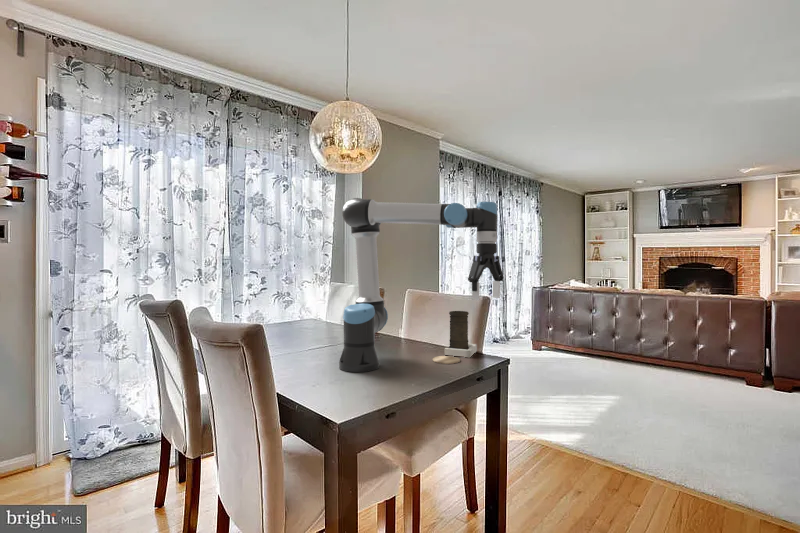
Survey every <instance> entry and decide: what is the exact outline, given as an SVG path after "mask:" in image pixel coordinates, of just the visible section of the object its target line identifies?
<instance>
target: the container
mask: <svg viewBox="0 0 800 533" xmlns="http://www.w3.org/2000/svg"><path fill="white" fill-rule="evenodd" d="M448 314H449V346H448V348H453V349H465V350H468V349H469V347H468V344H469V330H468V329H469V321H468V318H469V316H468V315H469V314H470V313H469V311H465V310H464V311H463V310H451V311H449V312H448Z"/></svg>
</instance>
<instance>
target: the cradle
mask: <svg viewBox="0 0 800 533" xmlns="http://www.w3.org/2000/svg"><path fill="white" fill-rule="evenodd" d="M468 347H469V349H468V350H465V349H453V348H449V347H445V348H444V356H445V355H453V357H454V356H464V357H463V358H465V357H471V356H472V355H473V354H474V353H475V354H476V353H477V351H478V343H468ZM475 354H474V355H475ZM472 357H473V356H472ZM472 357H471V358H472Z"/></svg>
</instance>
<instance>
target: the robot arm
mask: <svg viewBox="0 0 800 533" xmlns="http://www.w3.org/2000/svg"><path fill="white" fill-rule="evenodd" d="M341 214H342V218H343V220H344V222H345V223H346V224H347V226H349V227H350V229H351V230H350V231H351V236H352V237H353V238H354V239H355V252H356V253H355V254H356V269H357V285H358V298H357V299H356V300H355V303H354V304H350V305H347V306H346V307H345V308H344V310H343V316H342V318H343V348H342V351H341V354H340V358H339V360H338V361H339V362H338V368H339V369H340V371H341V370H342V371H344V372H349V373H350V372H351V373H364V372H371V371H375V370H377V369H379V368H380V360H379V355H378V353H377V350H376V346H375V338H376V337H375V336H376V335H375V333H378V332H379V331H381V330H382V329H383V328H384V327H385V326H386V324H387V322H388V317H389V314H388V311H387V308H386V307H385V300H384V298H383V297H382V296H381V292H380V291H381V290H380V275H379V261H378V260H379V259H378V245H377V244H378V242H377V237H378V236H379V235H380V234H381V233H380V232H381V231H380V230H381V229H380V226H381V224H404V225H405V224H409V225H410V224H411V225H440V226H442V225H443V226H445V227H446V228H448V229H449V228H450V229H463V228H465V229H467V228H472V229H473V228H474V229H475V228H476V243H477V244H476V253H477V254H478V255H473V258H472V265H471V268H470V270H469V274H468V277H467V280H468V281H469V283H471V294H472V295H471V296H472V297H471V300H472V301H480V287H481V286H480V282H479V280H480V278H481V276H482V274H483V272H484V270H485V269H486V268H487V269H488V270H489V272H490V274H491V276H492V279H493V281H492V298H496V299H500V297H501V296H500V295H501V294H500V293H501V282H503V280H504V278H505V277H504V273H503V270H502V269H503V268H502V265H501V263H500V256H499V255H495V254H497V253H498V245H497V242H498V233H497V232H498V205H497V203H496V202H495V201H478V202H477V204H476V206H475V207H465V206H464V205H463V204H461V203H459V202H452V203H427V202H426V203H424V202H421V203H420V202H419V203H418V202H386V201H385V202H381V201H376V200H375V199H374V198H373V199H372V198H369V199H367V198H361V197H353V198H351V199H349V200H347V201H346V202H345V203H344V204H343V208H342V210H341Z"/></svg>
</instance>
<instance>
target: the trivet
mask: <svg viewBox="0 0 800 533" xmlns="http://www.w3.org/2000/svg"><path fill="white" fill-rule="evenodd" d="M432 361H433V362H434V363H437V364H440V363H441V364H440V365H455V364H458V362H459V363H460V362H461V358H460V357H454V356H445V355H439V356H434V357H432ZM454 363H455V364H454Z"/></svg>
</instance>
